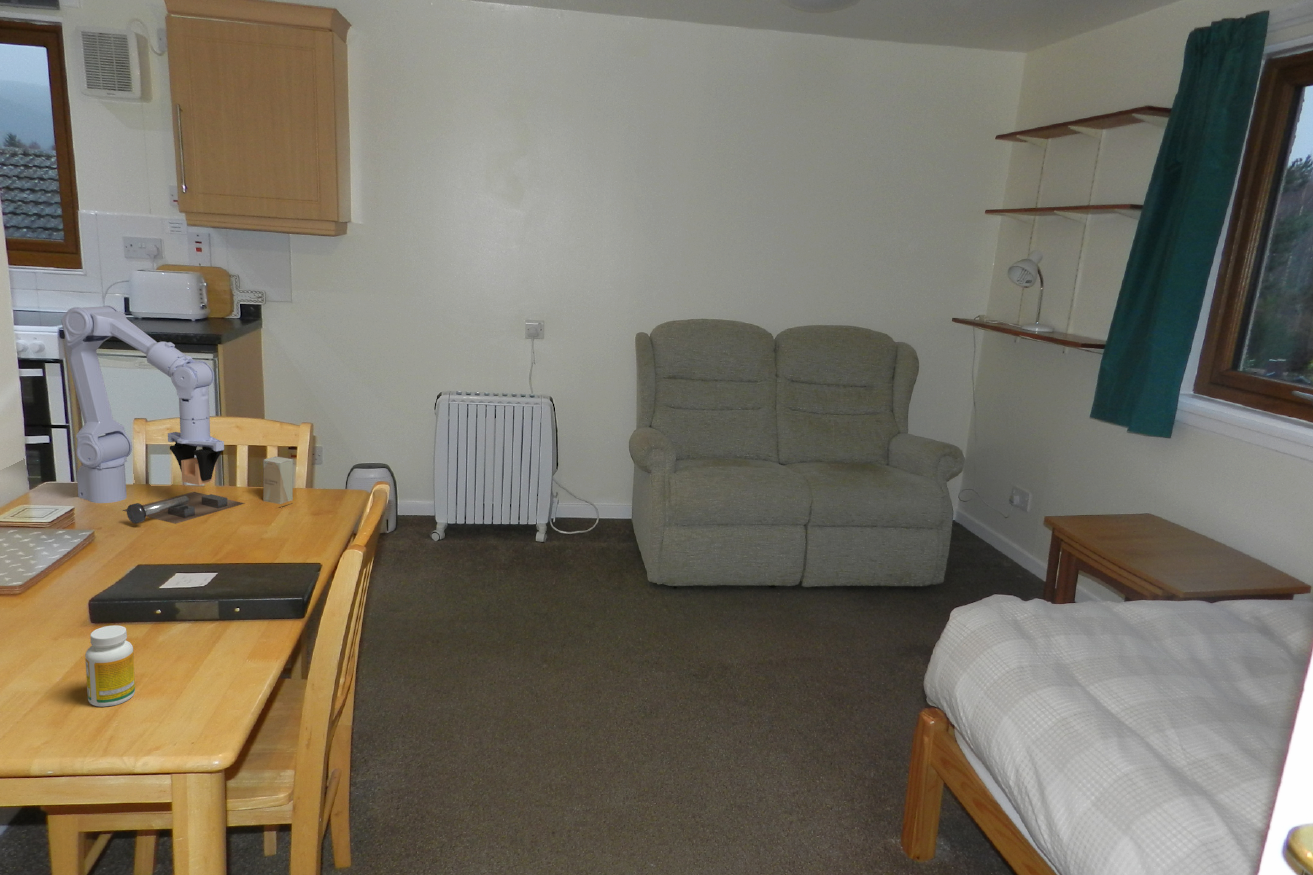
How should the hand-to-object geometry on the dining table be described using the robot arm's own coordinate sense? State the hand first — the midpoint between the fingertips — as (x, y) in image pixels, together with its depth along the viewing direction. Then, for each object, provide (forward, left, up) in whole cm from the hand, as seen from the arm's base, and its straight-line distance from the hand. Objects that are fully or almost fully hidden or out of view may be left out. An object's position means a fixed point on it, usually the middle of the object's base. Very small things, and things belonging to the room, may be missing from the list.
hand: (197, 477), depth 185 cm
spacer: (0, 0, -1) cm, 1 cm away
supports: (0, 0, -7) cm, 7 cm away
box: (+8, +15, -9) cm, 19 cm away
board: (-4, 0, -8) cm, 9 cm away
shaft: (0, -9, -6) cm, 11 cm away
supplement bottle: (+55, -60, -9) cm, 82 cm away
